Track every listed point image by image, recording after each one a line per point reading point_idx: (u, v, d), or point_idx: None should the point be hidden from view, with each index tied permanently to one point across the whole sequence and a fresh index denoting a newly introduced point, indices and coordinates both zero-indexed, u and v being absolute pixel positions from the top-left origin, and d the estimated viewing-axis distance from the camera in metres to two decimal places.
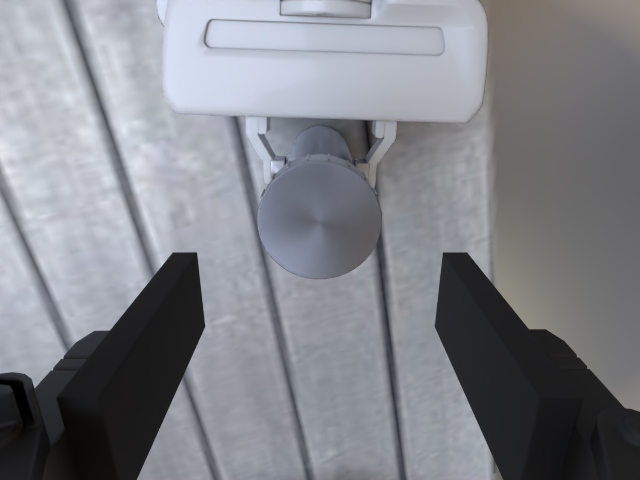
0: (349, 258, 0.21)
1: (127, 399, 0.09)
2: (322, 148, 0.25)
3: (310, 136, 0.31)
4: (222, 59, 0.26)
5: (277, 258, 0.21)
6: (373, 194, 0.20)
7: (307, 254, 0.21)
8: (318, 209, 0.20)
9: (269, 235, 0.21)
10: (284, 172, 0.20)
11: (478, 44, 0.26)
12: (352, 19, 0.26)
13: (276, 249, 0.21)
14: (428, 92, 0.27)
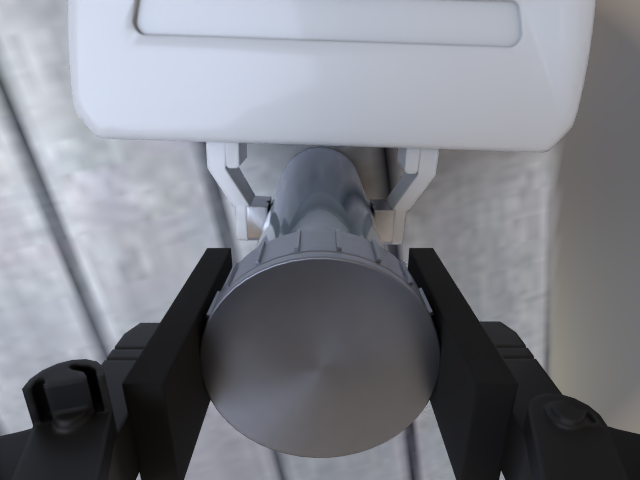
0: (376, 425, 0.11)
1: (182, 387, 0.09)
2: (324, 198, 0.16)
3: (306, 168, 0.21)
4: (165, 52, 0.16)
5: (240, 425, 0.11)
6: (427, 317, 0.10)
7: (297, 419, 0.11)
8: (318, 344, 0.10)
9: (223, 388, 0.11)
10: (249, 277, 0.10)
11: (579, 28, 0.16)
12: None
13: (238, 411, 0.11)
14: (492, 105, 0.17)
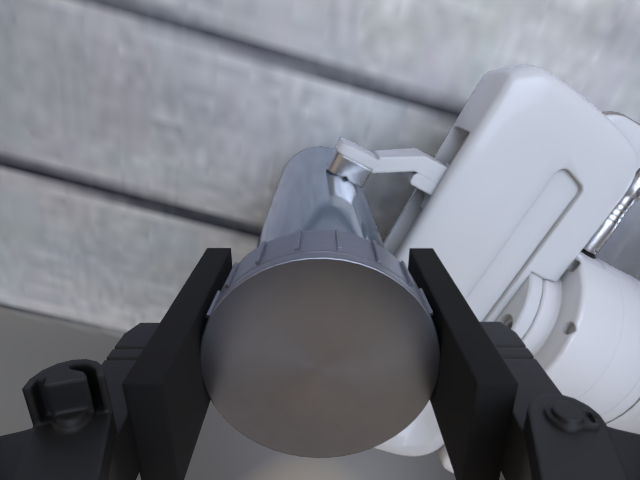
0: (376, 425, 0.11)
1: (182, 387, 0.09)
2: None
3: None
4: (533, 182, 0.19)
5: (240, 425, 0.11)
6: (427, 317, 0.10)
7: (297, 419, 0.11)
8: (318, 344, 0.10)
9: (223, 388, 0.11)
10: (249, 277, 0.10)
11: (384, 444, 0.23)
12: None
13: (238, 410, 0.11)
14: None
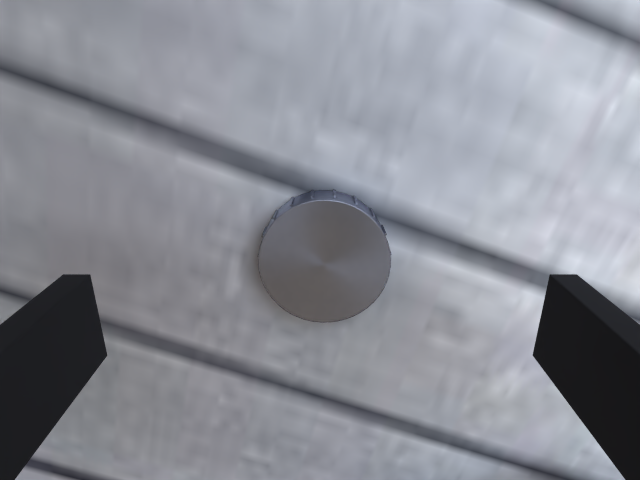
0: (356, 300, 0.20)
1: None
2: None
3: None
4: None
5: (279, 300, 0.20)
6: (382, 234, 0.19)
7: (311, 296, 0.20)
8: (323, 249, 0.19)
9: (271, 276, 0.19)
10: (287, 211, 0.18)
11: None
12: None
13: (278, 291, 0.20)
14: None
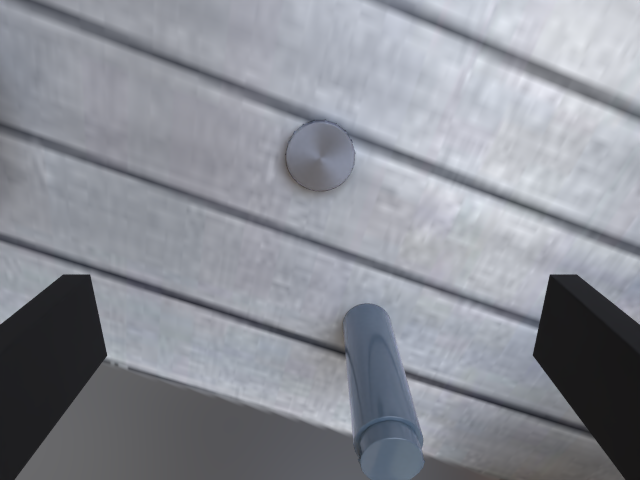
0: (337, 178, 0.38)
1: None
2: None
3: None
4: None
5: (296, 178, 0.38)
6: (349, 141, 0.36)
7: (313, 176, 0.37)
8: (319, 149, 0.37)
9: (292, 164, 0.37)
10: (301, 128, 0.36)
11: None
12: None
13: (296, 173, 0.37)
14: None
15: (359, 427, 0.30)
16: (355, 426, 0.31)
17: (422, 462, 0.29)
